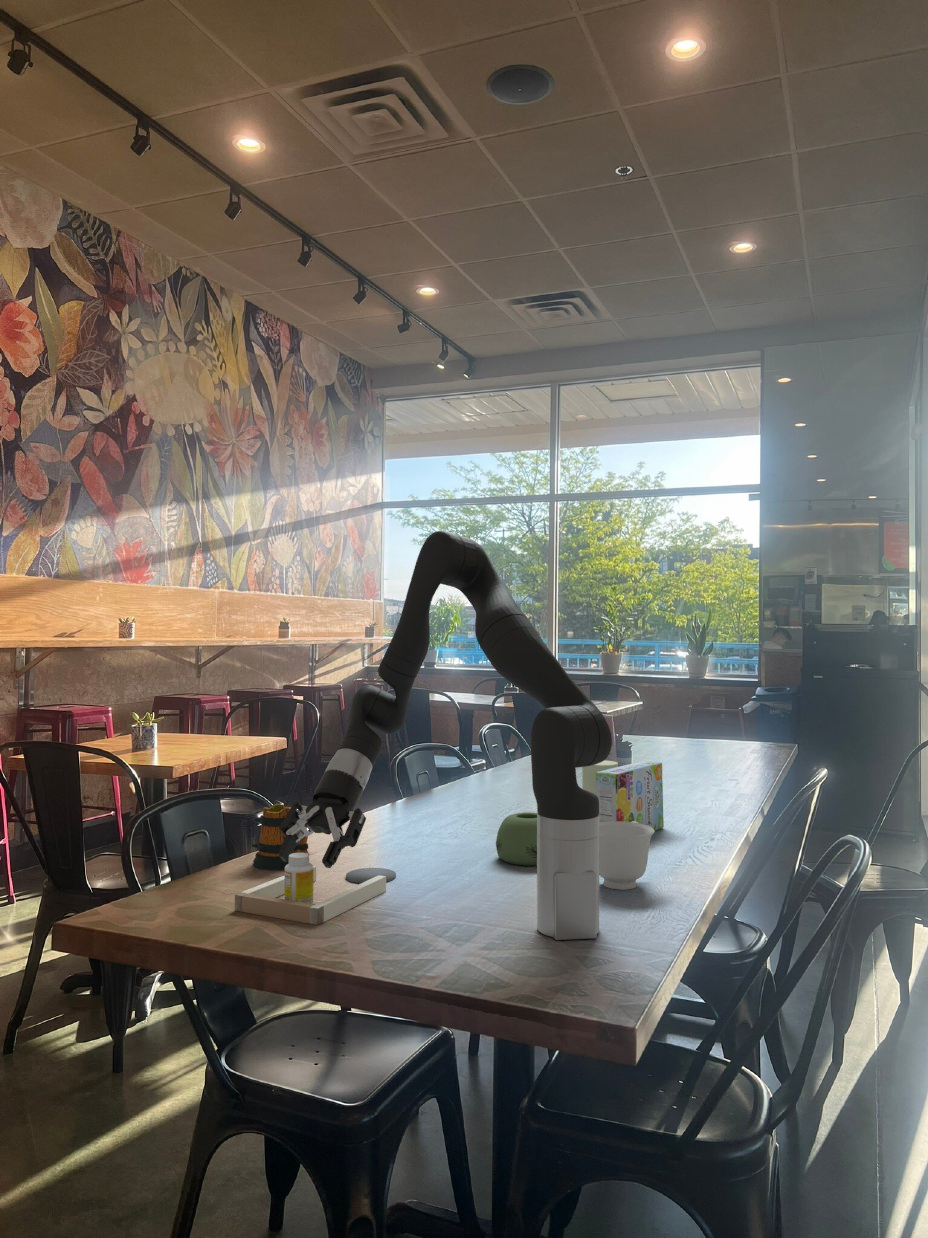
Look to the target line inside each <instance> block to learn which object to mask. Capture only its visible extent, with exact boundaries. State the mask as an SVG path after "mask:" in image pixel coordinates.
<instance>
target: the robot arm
mask: <svg viewBox="0 0 928 1238" xmlns="http://www.w3.org/2000/svg"><path fill="white" fill-rule="evenodd" d="M415 561H416V562H415V564H414V568H413V571H412V575H411V579H410V583H409V585H408V588H407V589H408V590H407V592H406V596H405V599H404V603H403V606H402V607H403V608H402V611H401V613H400V617H399V620H398V623H397V626H396V628H395V631H394V633H393V635H392V638H391V640H390V642H389V644H388V646H387V649H386V650H385V652H384V655H383V656H382V659H381V660H380V664H379V666H378V668H377V673H378V676H379V677H380V679H381V680H382V681H383V682H385V683H386V684H388V686H390V687H391V688H392V689H393V691H394V694H395V695H394V694H392V693H390V692H387V691H385V690H383V689H381V688H379V687H377V686H375V685H371V684H368V685H367V684H366V685H363V686H362V687H360V688H359V689H358V690H357V691H356V692H355V694H354V695H353V698H352V703H351V708H350V714H349V715H350V716H349V722H348V724H347V725H348V726H347V729H346V731H345V734H344V737H343V738H342V740H341V743H340V745H339V746H338V748H337V750H336V752H335V754H334V755H333V757H332V758H331V760H330V761H329V762H328V765H327V766H326V768H325V771H324V772H323V775H322V776H321V779H320V780H319V782H318V784H317V786H316V788H315V790H314V792H313V799H312V801H311V802H310V803H309V804H308V805H302V804H301V803H300V801H295V802H293V804H292V806H290V807H291V809H290V811H289V812H288V814H287V816H286V817H285V819H284V821H283V822H282V824H281V826H280V828H279V830H280V831H281V832H282V834H283V835H284V836H285V840H284V842H283V844H282V845H281V847H280V849H279V856H280V858H281V859H282V860H283V861H285V862H288V861H289V855H290V854H292V853H293V851H294V849H295V847H296V845H297V843H296V842H298V841H299V840H301V839H302V838H303V837H305V836H308V837H310V836H311V835H312V834H314V833H315V834H325V835H331V836H332V839H333V841H330V842H329V845H328V847H327V849H326V850H325V853H324V855H323V857H322V860H321V863H322V865H323V866H324V867H325V868H326V869H331V868H332V867H333V866H334V865H335V864H336V863H337V861H338V859H339V857H340V855H341V852H342V850H344V849H345V847H350V848H354V847H355V846H357V843H358V841H359V838H360V836H361V833H362V831H363V828H364V825H365V823H366V820H367V817H366V816H365V813H363V811H362V810H361V808H359V807H358V808H356V807H357V805H358V803H359V801H360V799H361V797H362V795H363V792H364V790H365V788H366V786H367V784H368V781H369V779H370V776H371V772H372V770H373V768H374V765H375V764H376V761H377V759H378V757H379V756H380V753H381V751H382V749H383V741H382V739H381V737H380V736H379V734H377V733H376V732H375V731H374V730H373V729H375V730H377V731H380V732H382V733H383V734H387V735H394V734H397V733H398V732H399V731H401V730H402V729H403V727H404V725H405V723H406V720H407V716H408V710H409V704H410V703H409V702H410V697H411V694H412V693H411V692H412V689H413V686H414V684H415V683H414V682H415V680H416V678H417V676H418V673H419V671H420V670H421V668H422V666H423V663H424V661H425V659H426V656H427V654H428V652H429V647H430V640H431V639H430V638H431V633H430V628H431V627H430V610H431V609H430V608H431V604H432V601H433V598H434V595H435V594H436V591H438V588H439V587H440V585H444V586H448V587H452V588H454V589H457V590H458V591H460V592H461V593H462V594H463V595H464V596H465V598H466V599H467V601H469V603H470V605H471V606H472V608H473V609H474V612H475V621H474V623H475V624H474V633H475V637H476V638H475V639H476V642H477V644H478V645H479V647H480V649H481V651H482V652H483V653H484V655H485V657H486V658H487V660H488V661H489V663H490V664H491V666H492V667H493V668H494V670H495V671H496V672H497V673H498V674H499V675H500V676H501V677H503V678H504V679H505V680H506V681H508V682H509V683H510V684H512V685H514V686H515V687H516V688H518V689H519V690H521V691H523V692H524V693H525V694H527V695H528V696H530V697H531V698H533V699H534V700H535V701H537V702H538V703H539V704H540V705H541V706H542V707H543V708H544V709H542V710H540V711H539V712H538V713H537V714H536V715H535V718H534V720H533V722H532V726H531V731H530V760H531V781H532V791H533V794H534V798H535V800H536V809H537V811H536V813H537V865H536V907H537V908H536V910H537V912H536V918H537V919H536V927H537V931H538V932H539V933H541V934H543V935H545V936H548V937H551V938H553V939H554V940H555V941H561V940H564V941H565V940H584V939H585V940H586V939H597V938H598V937H597V934H599V933H600V875H599V799H598V797H597V795H595V794H594V793H592V792H589V791H586V790H583V789H582V787H580V785H579V784H578V780H577V771H576V769H579V768H582V767H586V766H591V765H595V764H598V763H601V762H602V761H604V760H607V758H608V757H609V755H610V753H611V751H612V744H613V738H612V731H611V729H610V728H611V727H610V726H609V724H608V721H607V719H606V718H605V716H604V715H603V713H602V712H601V710H600V709H599V708H598V706H597V705H596V704H595V703H594V702H593V701H592V700H591V699H590V698H589V697H588V695H587V694H586V693H585V692H584V691H583V690H582V689H581V688H580V686H578V685H577V683H576V682H575V681H574V680H573V678H571V676H570V675H569V674H568V673H567V671H566V670H565V669H564V668H563V665H561V664H560V662H559V661H558V659H557V658H556V656H555V655H554V653H552V651H551V650H550V649H549V647H548V646H547V644H546V643H545V642H544V640H543V639H542V637H541V636H540V634H539V632H538V631H537V629H536V628H535V627H534V625H533V623H532V622H531V621H530V619H529V618H528V617H527V615H526V614H525V613H524V612H523V611H522V609H521V608H520V606H519V605H518V604H517V602H516V600H515V599H514V597H513V596H512V594H511V593H510V592H509V590H507V588H506V587H505V585H504V583H503V582H502V580H501V579H500V577H499V575H498V573H497V571H496V569H495V568H494V565H493V564H492V562H491V559H490V558H489V556H488V554H487V551H486V550H485V549H484V548H483V546H482V545H481V544H479V543H478V542H477V541H476V540H473V539H471V538H469V537H466V536H462V535H459V534H456V533H453V532H450V531H445V530H437V531H434V532H431V534H430V535H429V536H427V538H426V539H425V540H424V542H423V543H422V546H421V548H420V550H419V553H418V555H417V558H416V560H415ZM372 728H373V729H372ZM307 822H308V828H306V827H305V826H304V825H305V823H307ZM348 822H349V823H348ZM347 823H348V825H347V828H346V831H345V833H344V829H343V826H344V825H345V824H347ZM289 824H290V825H289ZM288 826H289V827H288ZM296 832H298V833H297V834H295V833H296Z"/></svg>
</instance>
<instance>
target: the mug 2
mask: <svg viewBox="0 0 928 1238" xmlns="http://www.w3.org/2000/svg"><path fill="white" fill-rule="evenodd" d="M495 847H496V852H497V856H498V857H499V859H501V860H502V861H504V862H506V863H508V864H512V865H517V866H526V867H527V866H529V867H530V866H537V812H527V811H526V812H518V813H514V814H513V813H512V814H509V815H508V816H506V817H505V818H504V819H503V820H502V821H501V824H500V826H499V827H498V831H497V835H496V839H495Z"/></svg>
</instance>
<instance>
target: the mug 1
mask: <svg viewBox="0 0 928 1238" xmlns="http://www.w3.org/2000/svg"><path fill="white" fill-rule="evenodd" d="M291 807H292V806H285V804H281V803H276V804H273V805H272V807H268V806H267V807H265V806H264V807H263V810H262V814H261V815H260V816H259V817H257V818H254V819H253V820H254V821H255V822H258V824H261V825H260V833H259V834H260V836H259V840H258V842H257V843H253V844H251V847H254V848H256V850H257V852H256V853H255V856H254V857H255V858H254V859H253V861H252V864H253V867H254V868H255V869H258V870H263V871H285V866H286V865H287V864H289V861H288V862H285V861H283V860H282V859H281V858H280V856H279V849H280V847H281V845H282V844H283V842H284V840H285V836H284V835H283V834H282V832H281V831H280V830H279V828H280V826H281V824H282V822H283V821H284V819H285V817H286V816H287V814H288V812H289V811H290V809H291ZM289 825H290V824H289ZM304 826H305V827H306V828H308V827H309V825H308V822H307V823H305V825H304ZM288 827H289V826H288ZM298 832H299V831H298ZM298 832H296V833H295V834H297V833H298ZM308 838H309V836H305V837H303V838H302V839H301V840H299V841H298V842H296V843H297V845H296V847H295V849H294V851H293V853H308V854H309V855H310V852H309V851H308V849H309V843H308ZM293 853H292V854H293Z"/></svg>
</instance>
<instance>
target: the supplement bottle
mask: <svg viewBox="0 0 928 1238" xmlns="http://www.w3.org/2000/svg"><path fill="white" fill-rule="evenodd" d="M313 866H314V865H313V864H312V863H311V862H310V853H309V854H308V853H293V854H290V855H289V864H287V865H286V866H285V870H284V875H285V894H284V899H285V900H291V901H297V902H304V903H310V904H314V882H313Z"/></svg>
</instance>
